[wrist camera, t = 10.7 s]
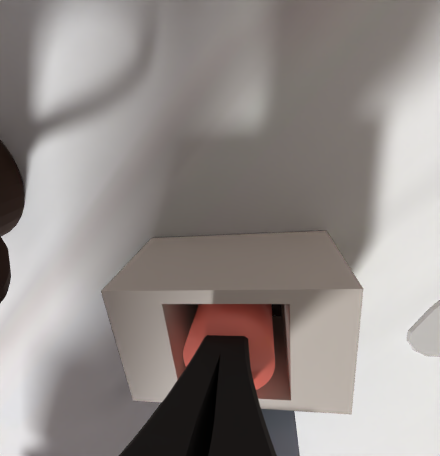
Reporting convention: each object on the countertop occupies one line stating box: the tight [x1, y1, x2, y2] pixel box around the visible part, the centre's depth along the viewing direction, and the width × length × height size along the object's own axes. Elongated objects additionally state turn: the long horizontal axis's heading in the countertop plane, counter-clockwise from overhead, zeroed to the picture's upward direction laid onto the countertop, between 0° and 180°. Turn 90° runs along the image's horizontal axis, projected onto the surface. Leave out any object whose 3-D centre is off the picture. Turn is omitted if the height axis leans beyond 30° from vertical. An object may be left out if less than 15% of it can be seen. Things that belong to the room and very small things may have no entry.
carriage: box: [261, 409, 300, 456], centre depth 12 cm, size 4×5×6 cm
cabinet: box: [101, 231, 363, 414], centre depth 11 cm, size 8×5×4 cm, turn 96°
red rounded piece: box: [183, 304, 275, 390], centre depth 10 cm, size 3×3×4 cm
